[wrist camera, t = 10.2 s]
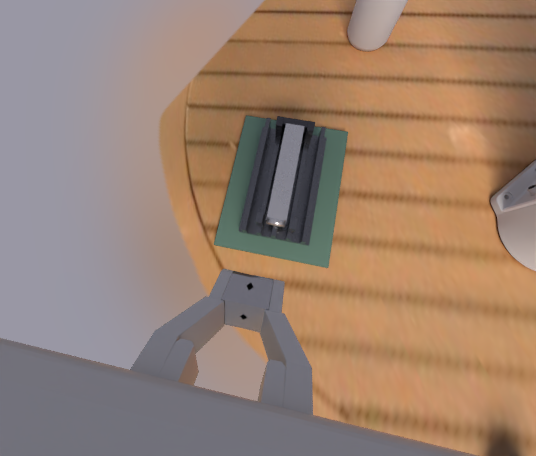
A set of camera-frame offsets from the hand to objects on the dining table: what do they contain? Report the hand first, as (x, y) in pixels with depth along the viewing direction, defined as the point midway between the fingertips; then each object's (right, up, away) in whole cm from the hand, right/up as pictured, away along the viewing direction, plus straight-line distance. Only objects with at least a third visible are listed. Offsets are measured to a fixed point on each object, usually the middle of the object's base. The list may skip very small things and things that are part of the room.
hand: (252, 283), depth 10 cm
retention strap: (+3, +11, +22) cm, 25 cm away
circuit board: (+4, +10, +28) cm, 30 cm away
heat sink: (+4, +10, +28) cm, 30 cm away
